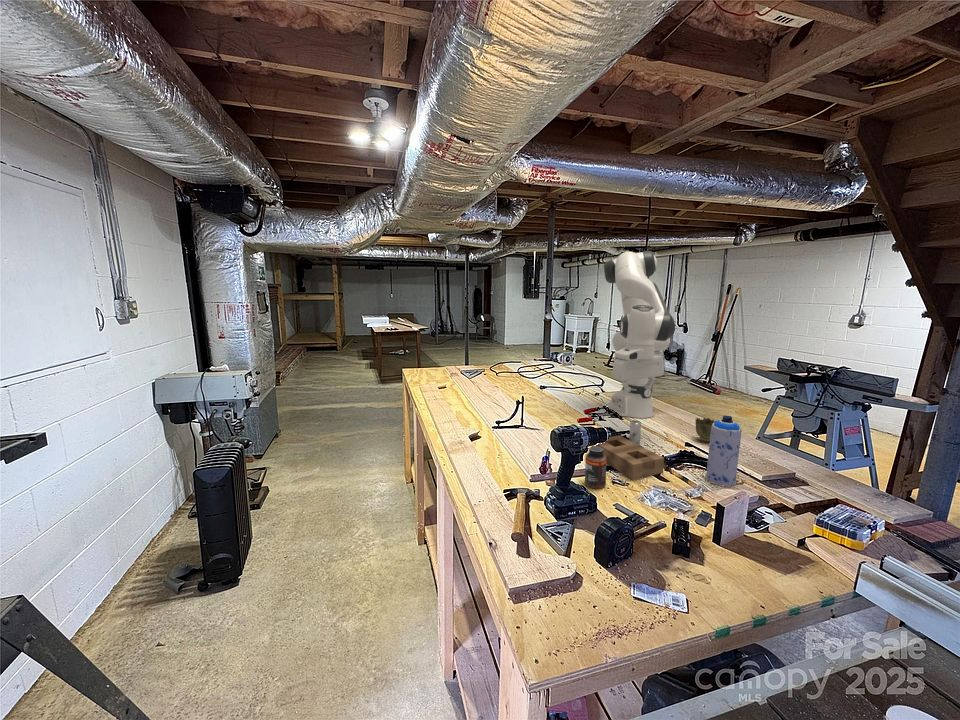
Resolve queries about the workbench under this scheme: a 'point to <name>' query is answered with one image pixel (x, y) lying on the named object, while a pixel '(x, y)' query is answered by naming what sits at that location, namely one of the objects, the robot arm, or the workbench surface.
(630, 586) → the workbench surface
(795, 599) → the workbench surface
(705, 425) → the cup
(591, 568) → the workbench surface
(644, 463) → the socket block
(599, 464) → the supplement bottle
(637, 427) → the peg
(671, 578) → the workbench surface
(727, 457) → the aerosol can
